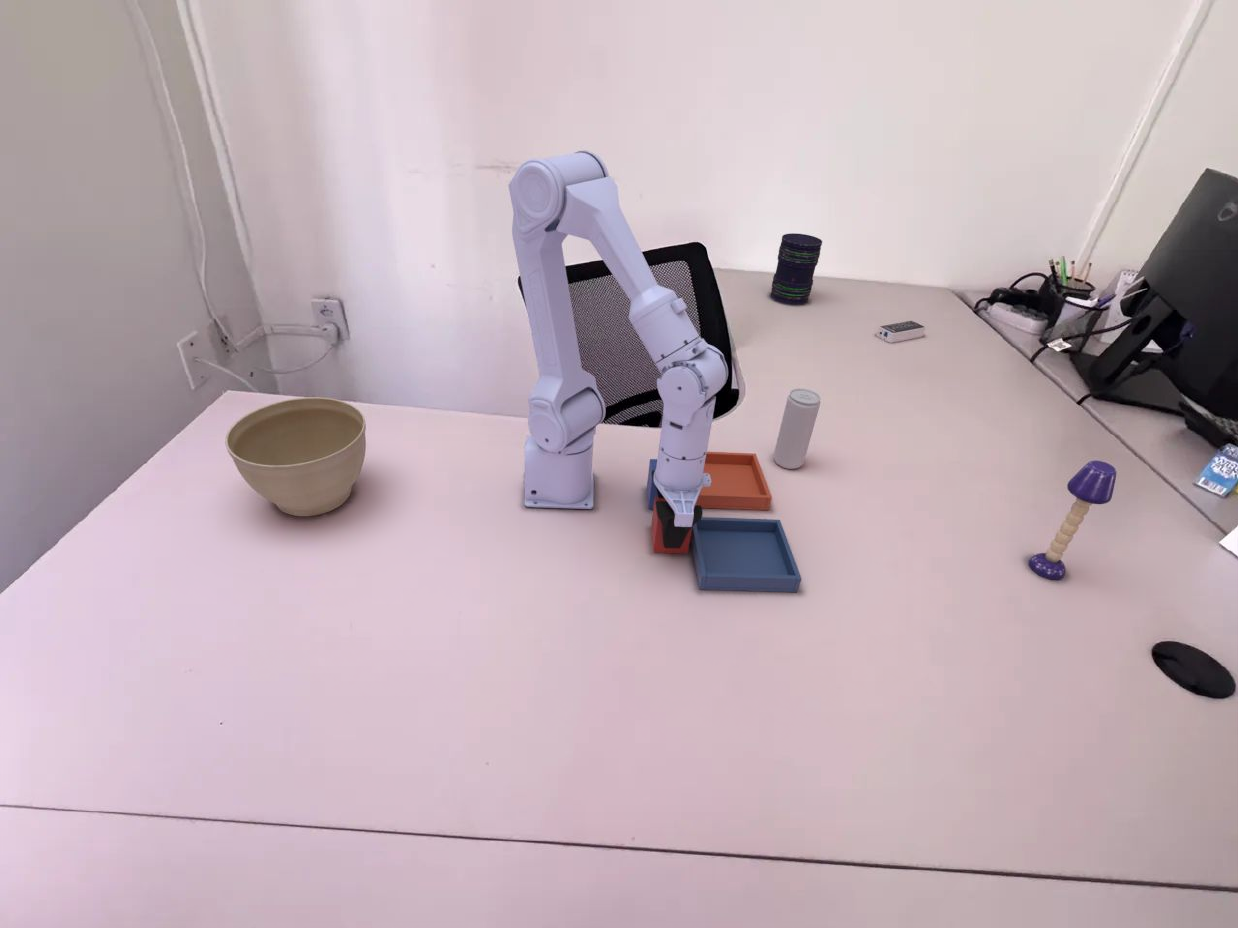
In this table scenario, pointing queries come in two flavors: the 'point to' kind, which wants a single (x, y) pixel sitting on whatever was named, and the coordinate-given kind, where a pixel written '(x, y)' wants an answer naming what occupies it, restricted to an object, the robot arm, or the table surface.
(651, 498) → the blue block
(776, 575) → the blue tray
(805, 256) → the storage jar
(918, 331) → the multiport hub
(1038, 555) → the toy lamp
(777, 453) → the beverage can
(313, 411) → the planter bowl
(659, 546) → the red block
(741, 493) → the orange tray
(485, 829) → the table surface
